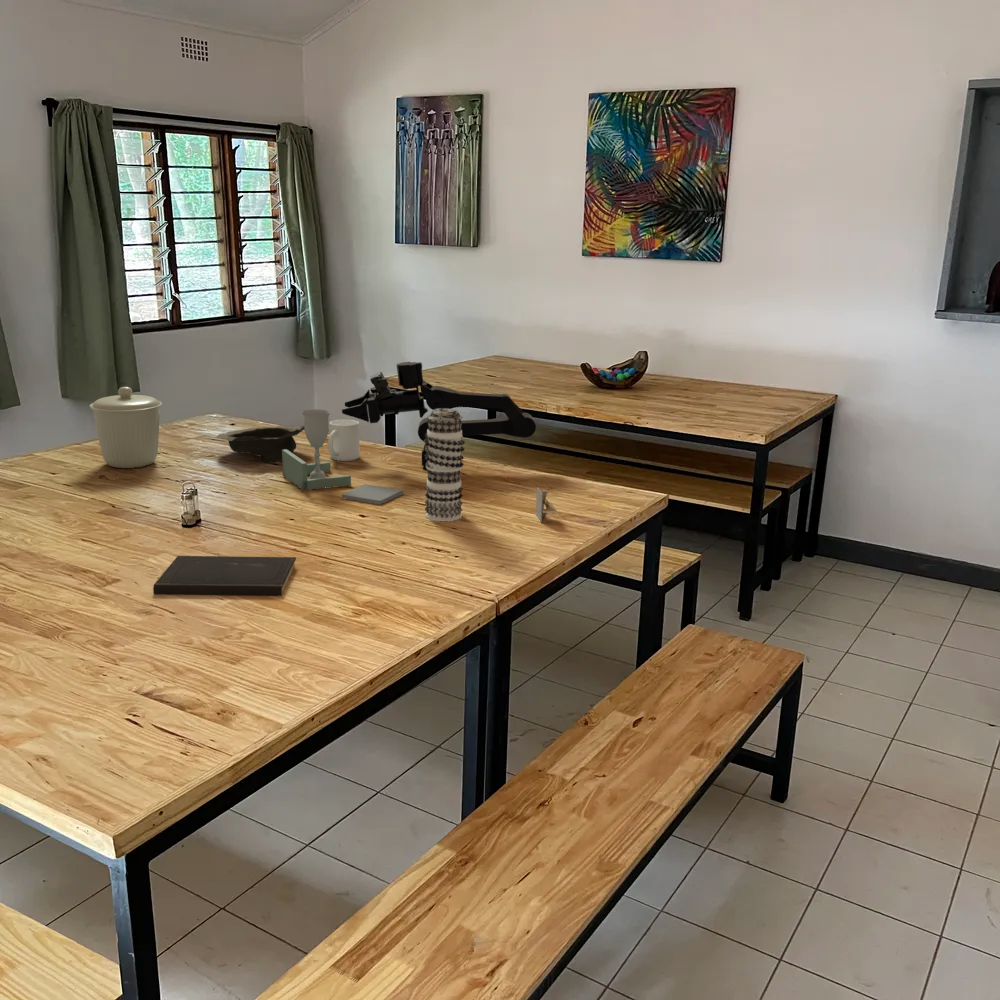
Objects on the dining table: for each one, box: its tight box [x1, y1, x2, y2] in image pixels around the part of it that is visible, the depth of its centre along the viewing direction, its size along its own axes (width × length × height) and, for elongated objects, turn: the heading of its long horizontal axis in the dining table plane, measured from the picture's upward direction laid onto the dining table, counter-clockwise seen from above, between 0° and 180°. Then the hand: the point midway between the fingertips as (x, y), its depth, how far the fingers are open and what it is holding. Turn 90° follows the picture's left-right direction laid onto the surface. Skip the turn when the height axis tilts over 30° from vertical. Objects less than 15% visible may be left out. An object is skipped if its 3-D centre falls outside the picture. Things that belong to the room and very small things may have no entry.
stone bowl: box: [215, 425, 304, 464], centre depth 276 cm, size 25×25×9 cm
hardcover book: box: [152, 555, 297, 597], centre depth 184 cm, size 16×23×2 cm
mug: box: [327, 419, 361, 462], centre depth 274 cm, size 12×8×10 cm
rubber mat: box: [340, 483, 404, 505], centre depth 241 cm, size 11×11×1 cm
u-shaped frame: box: [281, 449, 352, 492], centre depth 252 cm, size 13×16×7 cm
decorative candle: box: [424, 408, 466, 523], centre depth 223 cm, size 9×9×25 cm
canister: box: [89, 386, 163, 469], centre depth 261 cm, size 18×18×21 cm
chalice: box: [301, 409, 331, 479], centre depth 251 cm, size 7×7×18 cm
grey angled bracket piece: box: [535, 486, 558, 523], centre depth 225 cm, size 3×7×7 cm, turn 10°
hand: (343, 408), depth 263 cm, fingers open, 9 cm apart
